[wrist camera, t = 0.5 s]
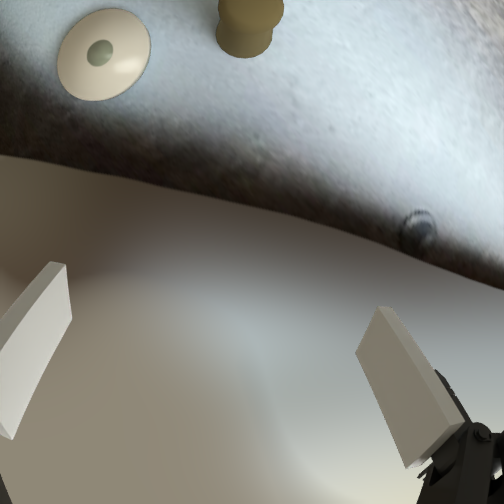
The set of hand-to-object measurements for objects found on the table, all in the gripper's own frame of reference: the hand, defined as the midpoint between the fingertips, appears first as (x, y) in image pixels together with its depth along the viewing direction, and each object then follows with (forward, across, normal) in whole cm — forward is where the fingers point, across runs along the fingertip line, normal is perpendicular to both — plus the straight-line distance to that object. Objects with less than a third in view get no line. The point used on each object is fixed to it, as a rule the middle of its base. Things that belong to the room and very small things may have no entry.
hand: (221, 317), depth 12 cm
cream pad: (+25, -16, +13) cm, 32 cm away
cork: (+25, -1, +17) cm, 30 cm away
